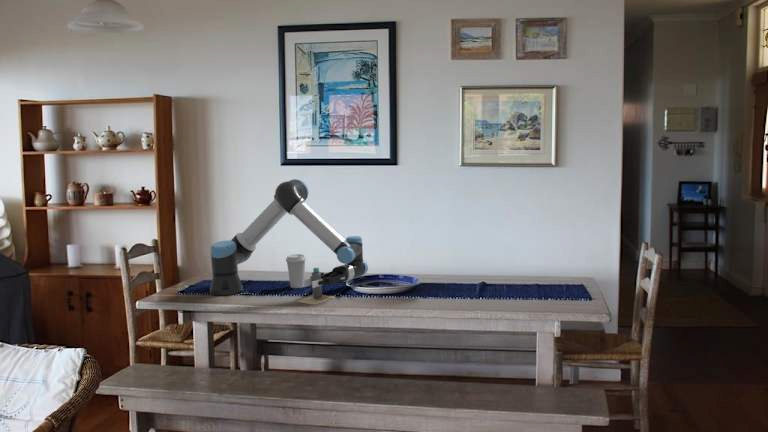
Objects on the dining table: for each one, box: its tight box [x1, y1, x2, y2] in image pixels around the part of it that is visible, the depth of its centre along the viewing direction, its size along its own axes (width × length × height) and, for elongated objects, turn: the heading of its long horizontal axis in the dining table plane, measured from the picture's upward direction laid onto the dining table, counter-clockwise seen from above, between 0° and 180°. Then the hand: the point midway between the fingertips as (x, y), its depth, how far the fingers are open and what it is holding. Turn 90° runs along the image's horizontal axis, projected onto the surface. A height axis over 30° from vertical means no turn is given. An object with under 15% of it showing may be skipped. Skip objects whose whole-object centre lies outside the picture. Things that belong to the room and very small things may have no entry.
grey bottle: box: [311, 267, 323, 298], centre depth 296 cm, size 4×4×13 cm
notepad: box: [293, 293, 336, 306], centre depth 297 cm, size 12×14×1 cm
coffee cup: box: [285, 253, 307, 289], centre depth 322 cm, size 10×10×15 cm
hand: (308, 284), depth 291 cm, fingers closed on grey bottle, 4 cm apart
